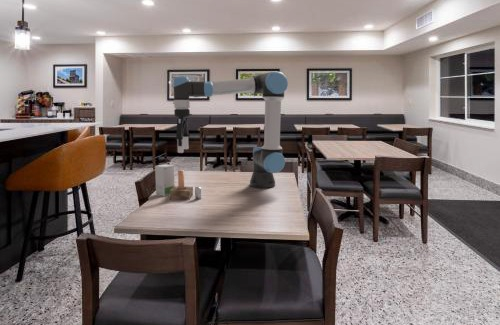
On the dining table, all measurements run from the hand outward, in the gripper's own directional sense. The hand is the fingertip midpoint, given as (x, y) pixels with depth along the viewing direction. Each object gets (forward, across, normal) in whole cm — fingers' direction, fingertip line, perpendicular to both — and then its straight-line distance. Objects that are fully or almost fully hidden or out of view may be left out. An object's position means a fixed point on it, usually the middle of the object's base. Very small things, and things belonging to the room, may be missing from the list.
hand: (183, 150), depth 187 cm
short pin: (+24, +4, +8) cm, 26 cm away
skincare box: (+24, -5, -11) cm, 27 cm away
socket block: (+24, +1, -1) cm, 24 cm away
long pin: (+24, +1, -2) cm, 24 cm away
